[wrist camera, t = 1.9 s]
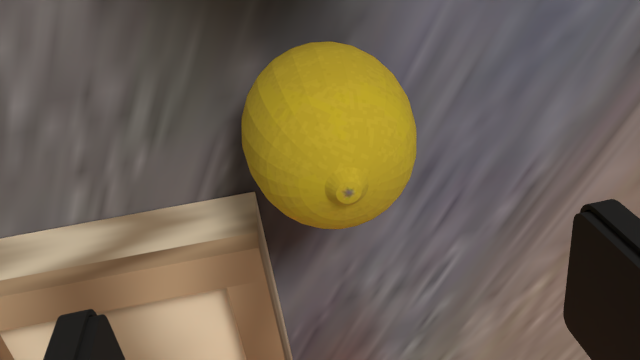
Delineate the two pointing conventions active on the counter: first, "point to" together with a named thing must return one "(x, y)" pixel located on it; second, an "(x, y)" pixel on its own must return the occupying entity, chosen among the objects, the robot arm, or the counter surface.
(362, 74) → the lemon
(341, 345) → the counter surface
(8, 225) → the counter surface
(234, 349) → the square wooden box
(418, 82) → the counter surface
